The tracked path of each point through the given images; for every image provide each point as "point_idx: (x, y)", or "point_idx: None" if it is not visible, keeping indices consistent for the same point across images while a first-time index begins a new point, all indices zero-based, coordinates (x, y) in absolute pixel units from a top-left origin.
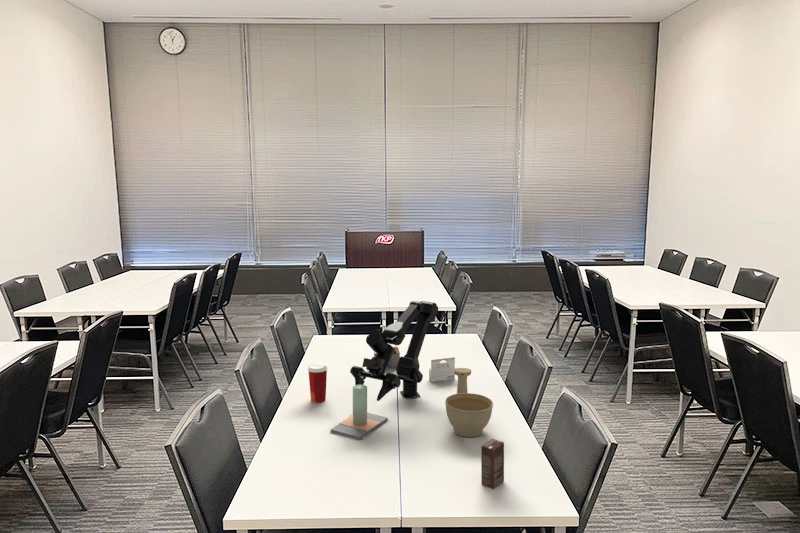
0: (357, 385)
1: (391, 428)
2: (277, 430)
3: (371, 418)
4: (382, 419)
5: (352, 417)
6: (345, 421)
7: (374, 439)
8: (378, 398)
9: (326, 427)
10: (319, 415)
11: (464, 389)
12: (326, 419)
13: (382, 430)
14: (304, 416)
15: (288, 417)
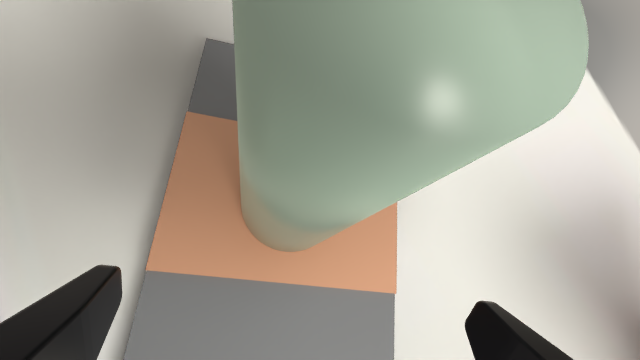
0: (548, 56)
1: (44, 257)
2: None
3: (246, 311)
4: (149, 336)
5: (374, 259)
6: None
7: (125, 74)
8: (73, 279)
9: None
10: (549, 247)
11: None
12: (492, 216)
13: (110, 201)
14: (589, 206)
15: (625, 171)
